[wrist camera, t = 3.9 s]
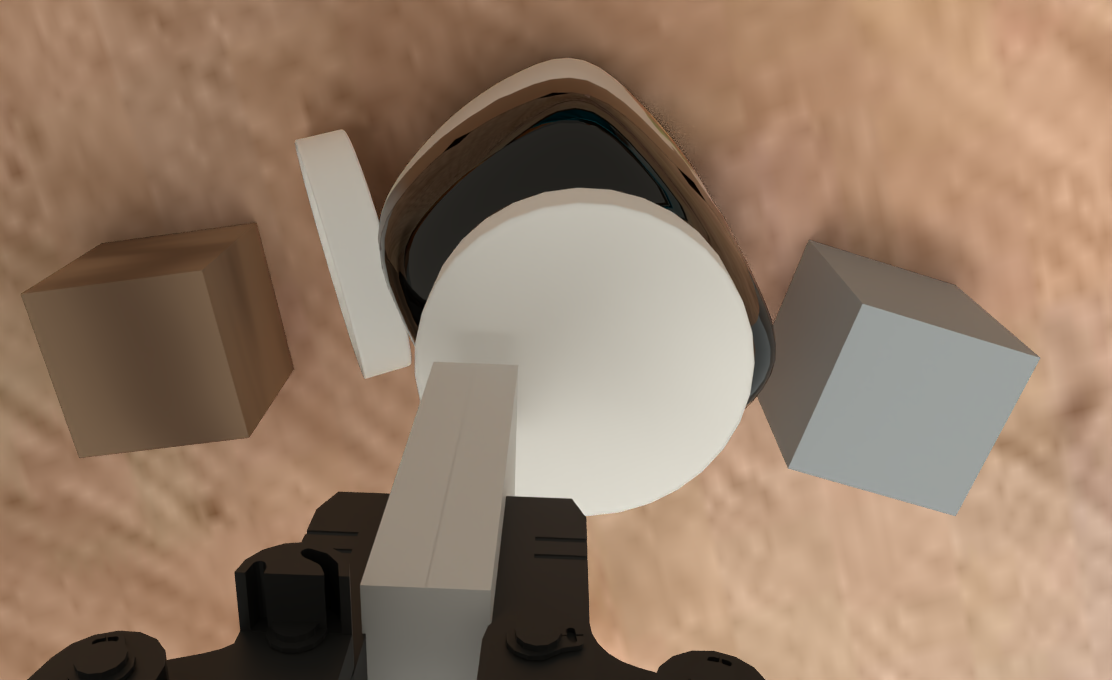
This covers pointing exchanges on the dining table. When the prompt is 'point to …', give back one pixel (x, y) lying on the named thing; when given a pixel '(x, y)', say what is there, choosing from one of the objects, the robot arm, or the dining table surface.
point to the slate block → (889, 379)
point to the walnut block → (162, 340)
